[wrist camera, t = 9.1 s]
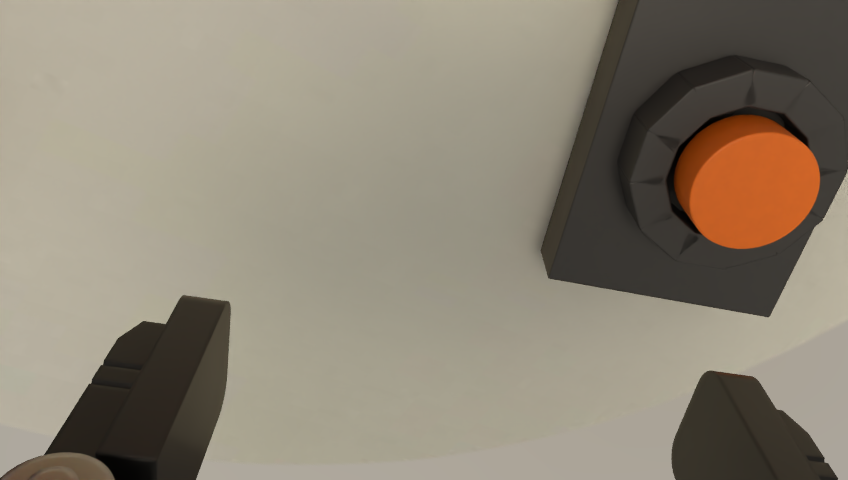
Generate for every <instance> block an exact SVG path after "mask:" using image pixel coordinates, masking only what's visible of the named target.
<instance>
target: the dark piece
mask: <svg viewBox="0 0 848 480" xmlns="http://www.w3.org/2000/svg"><path fill="white" fill-rule="evenodd" d="M736 115H758V116H762V117H766V118H768V119H771V120H773V121H775V122H776V123H778V124H779V125H781V126H782V127H783V128H785V129H786V130H787V131H789V132H790V133H791V134H792V135H794V136H795V137H796V138H798V139H799V140H800V141H801V142H803V143H804V144H805V145H806V146H807V147H808V148H809V149H810V150H811V152H812V153H813V155H814V157H815V158H816V161H817V163H818V166H819V172H820V186H819V192H818V195H817V198H816V201H815V203H814V205H813V207H812V209H811V211H810V212H809V214H808V215H807V216H806V218H805V219H804V220H803V221H802V222H801V223H800V224H799V225H798V226H797V227H796V228H795V229H794V230H793V231H791V232H790V233H789V234H787V235H786V236H784V237H782V238H781V239H779V240H777V241H775V242H773V243H770V244H767V245H764V246H761V247H756V248H750V249H734V248H728V247H724V246H721V245H718V244H716V243H714V242H712V241H710V240H708V239H707V238H706V237H705V236H703V235H702V234H701V232H700V231H699V230H698V229H697V228H696V226H695V225H694V223H693V222H692V221H691V219H690V218H689V216H688V215H687V214H686V212H685V211H684V209H683V208H682V206H681V205H680V203H679V201H678V199H677V197H676V193H675V189H674V174H675V168H676V165H677V162H678V160H679V157H680V155H681V153H682V152H683V150H684V148H685V147H686V146H687V144H688V143H689V142H690V141H691V140H692V139H693V138H694V137H695V136H696V135H697V134H698V133H699V132H700V131H701V130H703V129H704V128H706V127H707V126H709V125H710V124H713V123H715V122H717V121H719V120H721V119H724V118H727V117H731V116H736ZM847 170H848V0H619V2H618V5H617V9H616V12H615V15H614V18H613V21H612V25H611V28H610V31H609V34H608V37H607V41H606V44H605V47H604V50H603V53H602V57H601V60H600V63H599V66H598V69H597V73H596V76H595V79H594V82H593V85H592V89H591V92H590V95H589V98H588V101H587V105H586V108H585V111H584V114H583V117H582V121H581V124H580V127H579V130H578V133H577V137H576V140H575V143H574V146H573V149H572V153H571V156H570V159H569V162H568V165H567V169H566V172H565V175H564V178H563V181H562V185H561V188H560V191H559V194H558V197H557V201H556V204H555V207H554V210H553V213H552V217H551V220H550V223H549V226H548V229H547V233H546V236H545V239H544V242H543V245H542V249H541V254H542V257H543V261H544V264H545V268H546V271H547V275H548V278H550V279H555V280H561V281H566V282H572V283H578V284H583V285H589V286H595V287H600V288H606V289H612V290H617V291H623V292H629V293H634V294H640V295H646V296H651V297H657V298H663V299H668V300H674V301H680V302H685V303H691V304H696V305H702V306H708V307H713V308H719V309H725V310H730V311H736V312H742V313H747V314H753V315H759V316H764V317H769V316H770V315H771V313H772V311H773V309H774V307H775V305H776V303H777V301H778V299H779V297H780V295H781V293H782V291H783V289H784V287H785V285H786V283H787V281H788V279H789V277H790V275H791V273H792V271H793V269H794V267H795V265H796V263H797V261H798V259H799V257H800V255H801V253H802V251H803V249H804V247H805V245H806V243H807V241H808V239H809V237H810V235H811V233H812V231H813V229H814V227H815V226H816V225H817V224H819V223H820V222H821V221H822V220H823V219H822V218H824V217H825V215H826V213H827V211H828V209H829V207H830V205H831V203H832V201H833V199H834V197H835V195H836V193H837V191H838V189H839V187H840V185H841V183H842V181H843V179H844V177H845V175H846V173H847Z"/></svg>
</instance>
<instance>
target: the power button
mask: <svg viewBox="0 0 848 480" xmlns="http://www.w3.org/2000/svg"><path fill="white" fill-rule="evenodd" d="M819 186H820V172H819V166H818V163H817V161H816V158H815V157H814V155H813V153H812V152H811V150H810V149H809V148H808V147H807V146H806V145H805V144H804V143H803V142H801V141H800V140H799V139H798V138H796V137H795V136H794V135H792V134H791V133H790V132H789V131H787V130H786V129H785V128H783V127H782V126H781V125H779V124H778V123H776V122H775V121H773V120H771V119H768V118H766V117H762V116H758V115H736V116H731V117H727V118H724V119H721V120H719V121H717V122H715V123H713V124H710V125H709V126H707V127H706V128H704V129H703V130H701V131H700V132H699V133H698V134H697V135H696V136H695V137H694V138H693V139H692V140H691V141H690V142H689V143H688V144H687V146H686V147H685V148H684V150H683V152H682V153H681V155H680V157H679V160H678V162H677V165H676V168H675V174H674V189H675V193H676V197H677V199H678V201H679V203H680V205H681V206H682V208H683V209H684V211H685V212H686V214H687V215H688V216H689V218H690V219H691V221H692V222H693V223H694V225H695V226H696V228H697V229H698V230H699V231H700V232H701V234H702V235H703V236H705V237H706V238H707V239H708V240H710V241H712V242H714V243H716V244H718V245H721V246H724V247H728V248H734V249H750V248H756V247H761V246H764V245H767V244H770V243H773V242H775V241H777V240H779V239H781V238H782V237H784V236H786V235H787V234H789V233H790V232H791V231H793V230H794V229H795V228H796V227H797V226H798V225H799V224H800V223H801V222H802V221H803V220H804V219H805V218H806V216H807V215H808V214H809V212H810V211H811V209H812V207H813V205H814V203H815V201H816V198H817V195H818V192H819Z"/></svg>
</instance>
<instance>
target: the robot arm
mask: <svg viewBox="0 0 848 480" xmlns="http://www.w3.org/2000/svg"><path fill="white" fill-rule="evenodd" d="M230 316H231V307H230V303H229V302H228V301H221V300H214V299H207V298H200V297H193V296H186V295H183V296H182V297H181V298H180V300H179V301H178V303H177V305H176V307H175V309H174V310H173V312H172V314H171V316H170V318H169V319H168V321H167V323H166V324H161V323H153V322H146V321H143V322H141V323H140V324H139V325H137V326H136V327H134V328H133V329H131V330H130V331H128V332H127V333H125V334H124V335H122V336H121V337H119V338H118V339H117V341H116V342H115V344H114V345H113V347H112V349H111V350H110V352H109V353H108V355H107V357H106V358H105V360H104V363H103V365H101V366H100V368H99V369H98V371H97V372H96V374H95V375H94V377H93V379H92V383H91V384H89V385H88V387H87V388H86V390H85V391H84V393H83V394H82V396H81V398H80V399H79V401H78V402H77V404H76V406H75V407H74V409H73V410H72V412H71V413H70V415H69V417H68V418H67V420H66V421H65V423H64V424H63V426H62V428H61V429H60V431H59V432H58V434H57V436H56V437H55V439H54V440H53V442H52V444H51V445H50V447H49V448H48V450H47V451H46V453H45V454H44V455H43V456H39V457H36V458H33V459H30V460H27V461H25V462H23V463H21V464H19V465H17V466H16V467H14V468H13V469H11V470H10V471H8V472H7V473H6V474H5V475H3V476H2V477H1V478H0V480H196V478H197V475H198V472H199V469H200V467H201V464H202V461H203V459H204V456H205V453H206V450H207V448H208V445H209V442H210V440H211V437H212V434H213V431H214V429H215V426H216V423H217V420H218V418H219V415H220V412H221V408H222V404H223V400H224V395H225V389H226V382H227V369H228V351H229V333H230ZM672 468H673V473H674V476H675V479H676V480H838V478H837V476H836V475H835V473H834V472H833V470H832V469H831V467H830V466H829V464H828V463H824V457H823V455H822V454H821V452H820V451H819V449H818V447H817V446H816V444H815V443H814V442H813V440H812V438H811V437H810V435H809V434H808V433H807V432H806V431H805V430H804V429H803V428H801V427H800V426H799V425H798V424H797V423H796V422H795V421H794V420H793V419H791V418H790V417H789V416H788V415H787V414H786V413H785V412H783V411H782V410H777V409H776V408H775V406H774V405H773V403H772V402H771V400H770V398H769V397H768V395H767V394H766V392H765V390H764V389H763V387H762V386H761V384H760V383H759V381H758V380H757V379H756V378H754V377H752V376H745V375H738V374H730V373H723V372H716V371H707V372H705V373H704V374H703V375H702V377H701V378H700V380H699V382H698V384H697V387H696V389H695V391H694V394H693V396H692V399H691V401H690V403H689V405H688V408H687V410H686V413H685V415H684V417H683V419H682V422H681V424H680V426H679V429H678V431H677V433H676V436H675V439H674V442H673V447H672Z"/></svg>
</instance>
